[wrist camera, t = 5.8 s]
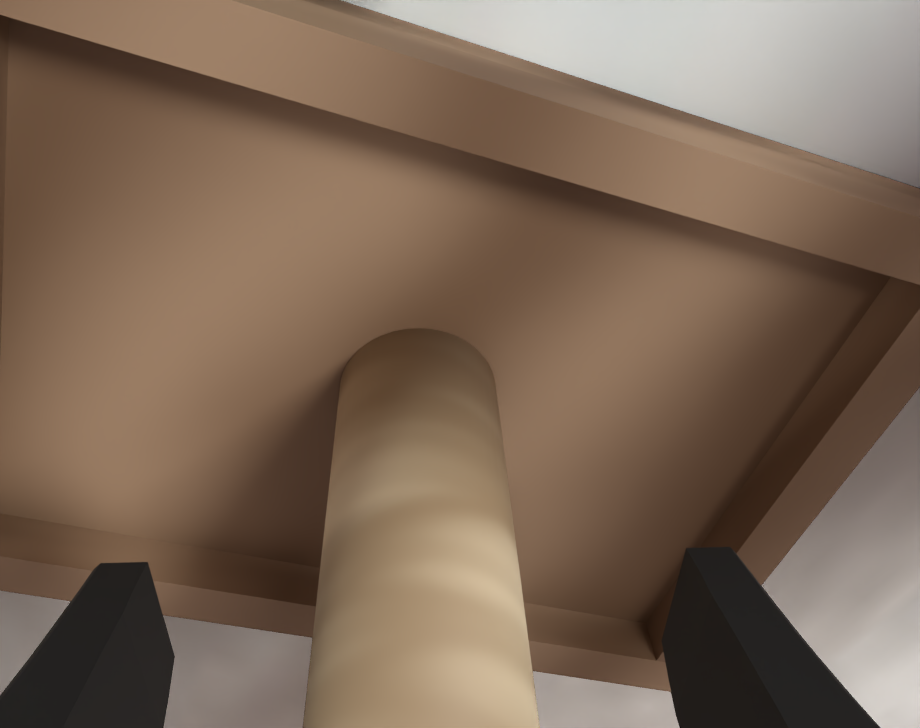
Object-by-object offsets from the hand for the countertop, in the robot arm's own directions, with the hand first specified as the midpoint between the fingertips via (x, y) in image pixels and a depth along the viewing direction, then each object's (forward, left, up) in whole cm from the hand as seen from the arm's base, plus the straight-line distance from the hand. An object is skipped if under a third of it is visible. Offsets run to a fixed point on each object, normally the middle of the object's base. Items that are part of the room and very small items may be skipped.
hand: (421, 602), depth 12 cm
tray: (0, 0, -5) cm, 5 cm away
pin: (0, 0, -5) cm, 5 cm away
